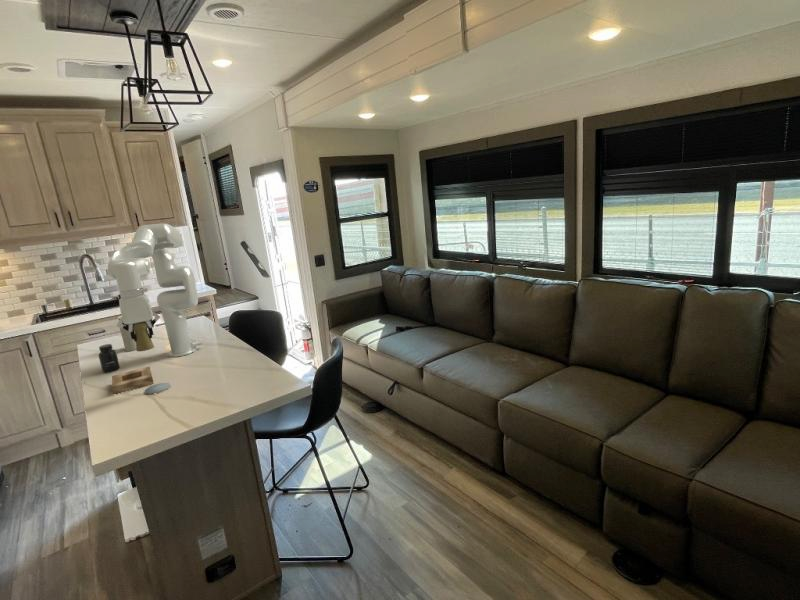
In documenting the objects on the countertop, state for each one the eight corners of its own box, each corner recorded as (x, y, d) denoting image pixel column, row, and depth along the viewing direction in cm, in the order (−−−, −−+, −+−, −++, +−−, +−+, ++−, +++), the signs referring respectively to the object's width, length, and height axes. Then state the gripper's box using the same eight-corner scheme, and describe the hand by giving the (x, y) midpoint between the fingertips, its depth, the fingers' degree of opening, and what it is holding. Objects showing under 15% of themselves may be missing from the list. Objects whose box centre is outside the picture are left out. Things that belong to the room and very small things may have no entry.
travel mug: (146, 346, 225) (137, 314, 221) (130, 352, 219) (121, 318, 214) (138, 345, 230) (130, 313, 225) (122, 350, 223) (113, 317, 219)
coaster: (169, 382, 177) (168, 380, 177) (171, 389, 169) (171, 388, 169) (144, 388, 172) (144, 387, 172) (145, 396, 165) (145, 395, 165)
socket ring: (151, 373, 187) (149, 366, 187) (153, 384, 176) (151, 376, 175) (114, 383, 180) (112, 376, 179) (114, 395, 169) (111, 387, 168)
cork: (135, 352, 162) (129, 324, 160) (137, 348, 168) (131, 321, 166) (153, 349, 165) (147, 321, 163) (154, 345, 170) (148, 318, 168)
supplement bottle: (111, 373, 192) (104, 348, 189) (99, 373, 194) (92, 348, 191) (123, 367, 199) (117, 343, 196) (111, 367, 200) (105, 343, 197)
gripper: (156, 288, 169) (166, 331, 173) (105, 296, 160) (118, 342, 165) (157, 290, 162) (168, 335, 167) (105, 299, 154) (117, 347, 158)
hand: (143, 338), depth 166 cm, fingers closed on cork, 4 cm apart
